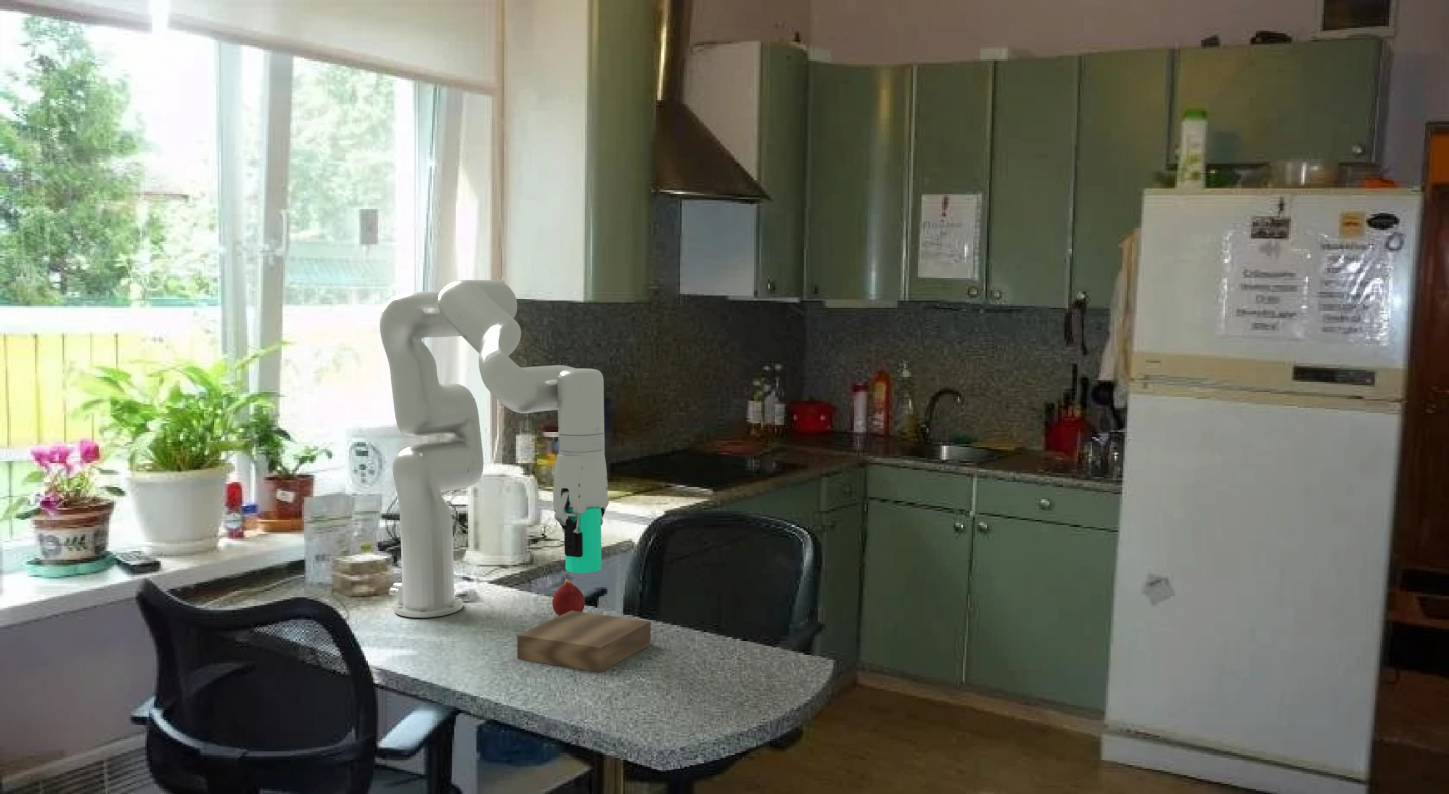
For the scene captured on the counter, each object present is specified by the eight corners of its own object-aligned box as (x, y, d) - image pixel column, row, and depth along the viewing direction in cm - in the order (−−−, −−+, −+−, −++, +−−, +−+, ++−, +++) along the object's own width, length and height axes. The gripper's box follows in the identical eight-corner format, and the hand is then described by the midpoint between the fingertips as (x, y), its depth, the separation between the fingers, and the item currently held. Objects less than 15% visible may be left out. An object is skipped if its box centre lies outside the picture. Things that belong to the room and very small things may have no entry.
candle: (586, 574, 188) (585, 501, 187) (557, 570, 192) (556, 498, 190) (609, 567, 193) (608, 496, 192) (581, 562, 197) (579, 493, 195)
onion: (588, 618, 213) (587, 576, 212) (581, 627, 208) (580, 583, 207) (557, 618, 214) (556, 575, 213) (549, 627, 208) (548, 583, 207)
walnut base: (517, 658, 190) (516, 635, 190) (571, 632, 204) (571, 610, 204) (600, 672, 183) (599, 647, 183) (650, 644, 197) (650, 621, 197)
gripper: (590, 436, 200) (591, 540, 201) (532, 449, 185) (534, 561, 186) (627, 438, 196) (629, 544, 198) (571, 451, 181) (573, 566, 183)
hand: (583, 551), depth 192 cm, fingers closed on candle, 4 cm apart
